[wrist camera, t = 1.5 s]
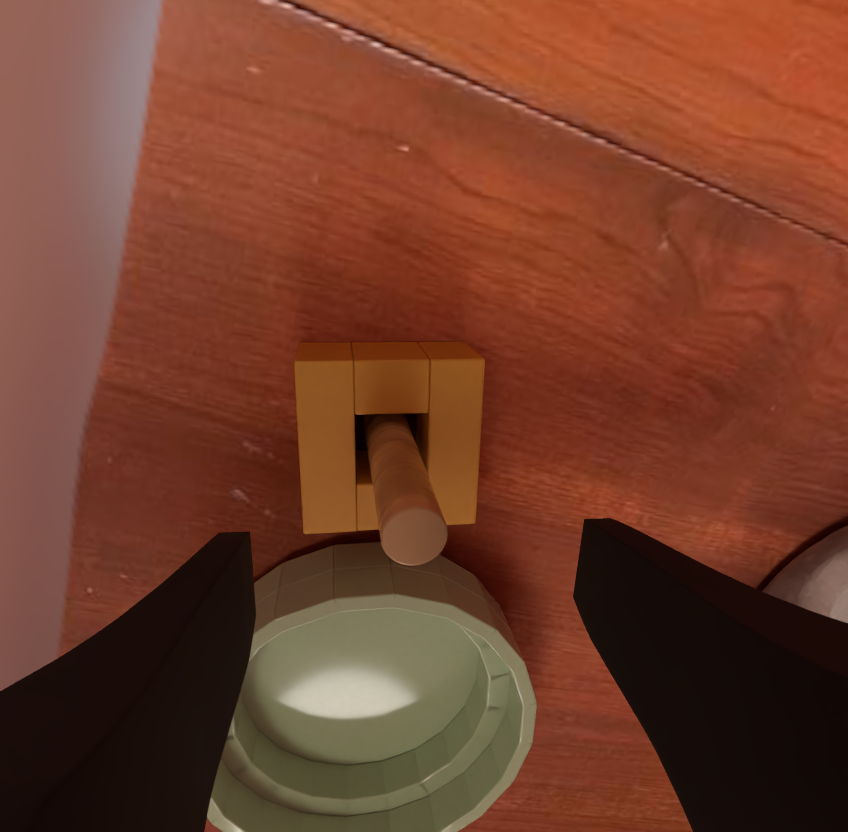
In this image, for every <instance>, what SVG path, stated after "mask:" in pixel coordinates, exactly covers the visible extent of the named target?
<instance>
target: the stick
mask: <svg viewBox="0 0 848 832" xmlns="http://www.w3.org/2000/svg"><path fill="white" fill-rule="evenodd" d="M363 422H364V430H365V437H366V443H367V450H368V457H369V464H370V471H371V478H372V485H373V492H374V498H375V505H376V512H377V519H378V526H379V533H380V540H381V545H382V548H383V550H384V551H385V553H386V554H387V555H388V556H389V557H390V558H391V559H392V560H394V561H395V562H397V563H400V564H403V565H409V566H415V565H421V564H424V563H427V562H429V561H431V560H432V559H434V558H435V557H436V556H438V554H439V553H440V552H441V551H442V550H443V548H444V546H445V544H446V541H447V538H448V528H447V524H446V521H445V519H444V516H443V514H442V511H441V508H440V506H439V503H438V500H437V498H436V495H435V492H434V490H433V487H432V485H431V482H430V479H429V477H428V474H427V471H426V469H425V466H424V463H423V461H422V458H421V456H420V453H419V450H418V448H417V445H416V442H415V440H414V437H413V434H412V432H411V429H410V427H409V424H408V421H407V419H406V416H405V413H403V414H368V415H364V419H363Z"/></svg>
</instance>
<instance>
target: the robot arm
mask: <svg viewBox="0 0 848 832" xmlns="http://www.w3.org/2000/svg"><path fill="white" fill-rule="evenodd" d="M573 598H574V601H575V603H576V606H577V608H578V611H579V613H580V616H581V618H582V621H583V623H584V625H585V627H586V630H587V632H588V634H589V636H590V638H591V640H592V642H593V644H594V646H595V647H596V649H597V651H598V652H599V654H600V656H601V658H602V659H603V661H604V663H605V664H606V666H607V668H608V670H609V671H610V673H611V675H612V676H613V678H614V680H615V681H616V683H617V685H618V686H619V688H620V690H621V691H622V693H623V695H624V696H625V698H626V700H627V701H628V703H629V705H630V706H631V708H632V710H633V712H634V713H635V715H636V717H637V718H638V720H639V722H640V723H641V725H642V727H643V728H644V730H645V732H646V734H647V735H648V737H649V739H650V741H651V743H652V745H653V746H654V748H655V750H656V752H657V754H658V756H659V758H660V760H661V762H662V765H663V767H664V769H665V771H666V773H667V775H668V777H669V779H670V781H671V784H672V786H673V788H674V790H675V792H676V794H677V796H678V798H679V801H680V803H681V805H682V807H683V809H684V812H685V814H686V816H687V819H688V821H689V823H690V825H691V828H692V830H693V832H848V623H845V622H842V621H839V620H836V619H833V618H830V617H827V616H824V615H822V614H819V613H816V612H813V611H810V610H807V609H805V608H802V607H800V606H797V605H795V604H792V603H789V602H787V601H784V600H782V599H779V598H777V597H774V596H772V595H769V594H767V593H764V592H762V591H760V590H757V589H755V588H753V587H750V586H748V585H746V584H744V583H742V582H739V581H737V580H735V579H733V578H731V577H729V576H727V575H724V574H722V573H720V572H718V571H716V570H714V569H712V568H710V567H708V566H706V565H704V564H702V563H700V562H698V561H696V560H694V559H692V558H690V557H688V556H686V555H684V554H682V553H680V552H678V551H676V550H674V549H673V548H671V547H669V546H667V545H665V544H663V543H661V542H659V541H657V540H655V539H653V538H651V537H650V536H648V535H646V534H644V533H642V532H640V531H638V530H636V529H634V528H632V527H630V526H628V525H626V524H623V523H621V522H619V521H616V520H614V519H611V518H603V519H584V525H583V532H582V539H581V546H580V553H579V560H578V567H577V573H576V580H575V587H574V594H573ZM255 620H256V605H255V592H254V578H253V565H252V552H251V539H250V532H226V533H218V534H217V535H216V536H215V537H213V538H212V539H211V540H210V541H209V542H208V543H207V544H206V545H205V546H203V547H202V548H201V549H200V550H199V551H198V552H197V553H196V554H195V555H194V556H192V557H191V558H190V559H189V560H188V561H187V562H186V563H185V564H184V565H182V566H181V567H180V568H179V569H178V570H177V571H176V572H174V573H173V574H172V575H171V576H170V577H169V578H168V579H166V580H165V581H164V582H163V583H162V584H161V585H159V586H158V587H157V588H156V589H154V590H153V591H152V592H151V593H149V594H148V595H147V596H146V597H144V598H143V599H142V600H141V601H139V602H138V603H137V604H135V605H134V606H133V607H132V608H130V609H129V610H128V611H127V612H125V613H124V614H123V615H121V616H120V617H119V618H118V619H116V620H115V621H113V622H112V623H111V624H109V625H108V626H106V627H105V628H104V629H102V630H101V631H99V632H98V633H96V634H95V635H93V636H92V637H90V638H89V639H87V640H86V641H84V642H83V643H81V644H80V645H78V646H77V647H75V648H74V649H72V650H71V651H69V652H68V653H66V654H64V655H63V656H61V657H59V658H58V659H56V660H54V661H53V662H51V663H49V664H47V665H46V666H44V667H42V668H41V669H39V670H37V671H35V672H33V673H32V674H30V675H28V676H26V677H25V678H23V679H21V680H20V681H18V682H16V683H14V684H13V685H11V686H9V687H7V688H5V689H4V690H2V691H0V832H204V830H205V824H206V819H207V814H208V809H209V804H210V799H211V794H212V790H213V786H214V782H215V778H216V774H217V770H218V767H219V763H220V760H221V757H222V753H223V750H224V746H225V743H226V739H227V736H228V733H229V729H230V726H231V722H232V719H233V715H234V712H235V709H236V705H237V702H238V698H239V695H240V691H241V688H242V684H243V681H244V677H245V674H246V670H247V667H248V663H249V658H250V652H251V646H252V640H253V634H254V627H255Z"/></svg>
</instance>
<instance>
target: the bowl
mask: <svg viewBox="0 0 848 832" xmlns="http://www.w3.org/2000/svg"><path fill="white" fill-rule="evenodd" d="M254 592H255V605H256V620H255V627H254V634H253V640H252V646H251V652H250V658H249V663H248V667H247V670H246V674H245V677H244V681H243V684H242V688H241V691H240V695H239V698H238V702H237V705H236V709H235V712H234V715H233V719H232V722H231V726H230V729H229V733H228V736H227V739H226V743H225V746H224V750H223V753H222V757H221V760H220V763H219V767H218V770H217V774H216V778H215V782H214V786H213V790H212V794H211V799H210V804H209V809H208V814H207V818H208V820H209V821H210V822H211V823H212V824H213V825H214V826H215V827H217V828H218V829H220V830H221V831H223V832H458V831H459V830H461V829H462V828H464V827H465V826H467V825H469V824H470V823H472V822H473V821H475V820H476V819H478V818H479V817H481V816H482V814H484V813H485V812H486V811H487V810H488V809H489V807H490V806H491V805H492V804H493V803H494V802H495V801H496V800H497V799H498V798H499V797H500V796H501V795H502V794H503V792H504V791H505V790H506V789H507V788H508V787H509V786H510V785H511V784H512V783H513V781H514V780H515V778H516V776H517V774H518V772H519V770H520V768H521V766H522V764H523V762H524V760H525V758H526V756H527V754H528V752H529V750H530V748H531V746H532V742H533V735H534V726H535V717H536V708H537V700H536V696H535V693H534V690H533V686H532V683H531V680H530V676H529V673H528V670H527V666H526V663H525V661H524V659H523V656H522V654H521V652H520V650H519V647H518V645H517V643H516V641H515V638H514V636H513V634H512V631H511V629H510V627H509V625H508V622H507V620H506V618H505V616H504V613H503V611H502V609H501V607H500V605H499V604H498V603H497V602H496V600H495V599H494V598H493V597H492V595H491V594H490V593H489V592H488V591H487V589H486V588H485V587H484V586H483V584H482V583H481V582H480V581H479V580H478V578H477V577H476V576H474V574H472V573H470V572H469V571H467V570H465V569H464V568H462V567H460V566H458V565H457V564H455V563H453V562H452V561H450V560H448V559H446V558H445V557H443V556H441V555H440V554H438V556H436V557H435V558H434V559H432V560H431V561H429V562H427V563H424V564H421V565H415V566H409V565H403V564H400V563H397V562H395V561H394V560H392V559H391V558H390V557H389V556H388V555H387V554H386V553H385V551H384V550H383V548H382V545H381V542H369V543H354V544H338V545H332V546H329V547H326V548H324V549H321V550H318V551H315V552H312V553H309V554H306V555H303V556H301V557H298V558H295V559H292V560H289V561H286V562H284V563H282V564H280V565H279V566H277V567H276V568H275V569H273V570H272V571H270V572H269V573H268V574H266V575H265V576H263V577H262V578H260V579H259V580H258V581H256V582H255V583H254Z"/></svg>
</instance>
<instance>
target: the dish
mask: <svg viewBox="0 0 848 832" xmlns="http://www.w3.org/2000/svg"><path fill="white" fill-rule="evenodd" d="M762 592H764V593H767V594H769V595H772V596H774V597H777V598H779V599H782V600H784V601H787V602H789V603H792V604H795V605H797V606H800V607H802V608H805V609H807V610H810V611H813V612H816V613H819V614H822V615H824V616H827V617H830V618H833V619H836V620H839V621H842V622H845V623H848V525H847V526H845V527H843V528H841V529H839V530H837V531H835V532H833V533H831V534H830V535H828V536H827V537H825V538H824V539H822V540H821V541H819V542H817V543H816V544H814V545H812V546H811V547H809V548H808V549H807V550H805V551H804V552H803V553H801V554H800V555H799V556H797V557H796V558H795V559H793V560H792V561H791V562H790V563H789V564H788V565H787V566H786V567H785V568H783V569H782V570H781V571H780V572H779V573H778V574H777V575H776V576H775V577H774V578H773V579H772V580H771V581H770V582H769V584H768V585H767V586H766V587H765V588H764V589H763V590H762Z"/></svg>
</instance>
